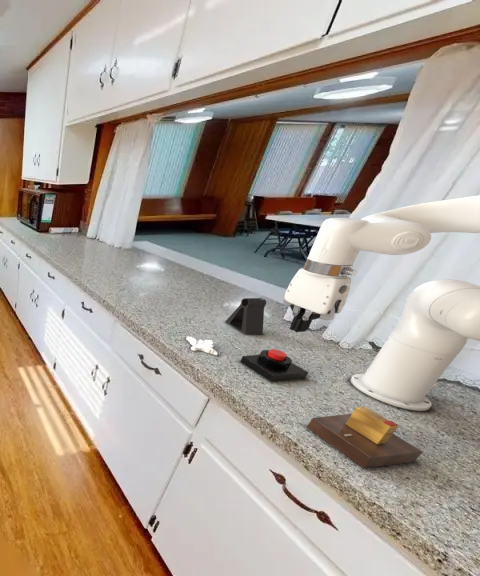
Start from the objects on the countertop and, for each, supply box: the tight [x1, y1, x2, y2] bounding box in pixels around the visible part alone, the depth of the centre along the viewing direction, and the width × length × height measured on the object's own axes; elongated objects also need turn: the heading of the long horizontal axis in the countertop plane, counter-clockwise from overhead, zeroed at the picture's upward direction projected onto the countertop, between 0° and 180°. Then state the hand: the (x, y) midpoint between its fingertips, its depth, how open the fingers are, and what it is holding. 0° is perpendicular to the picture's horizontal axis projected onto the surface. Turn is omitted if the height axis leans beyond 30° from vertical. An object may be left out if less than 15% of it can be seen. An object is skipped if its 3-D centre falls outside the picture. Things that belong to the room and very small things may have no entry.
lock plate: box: [306, 413, 424, 469], centre depth 64 cm, size 12×10×3 cm
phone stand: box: [225, 297, 267, 335], centre depth 106 cm, size 9×6×12 cm, turn 178°
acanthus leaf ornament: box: [186, 336, 219, 356], centre depth 97 cm, size 8×7×2 cm
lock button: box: [268, 348, 288, 361], centre depth 86 cm, size 4×4×2 cm
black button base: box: [240, 349, 309, 382], centre depth 86 cm, size 11×9×4 cm
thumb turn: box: [346, 406, 400, 444], centre depth 62 cm, size 5×2×5 cm, turn 6°
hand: (297, 330), depth 81 cm, fingers closed
